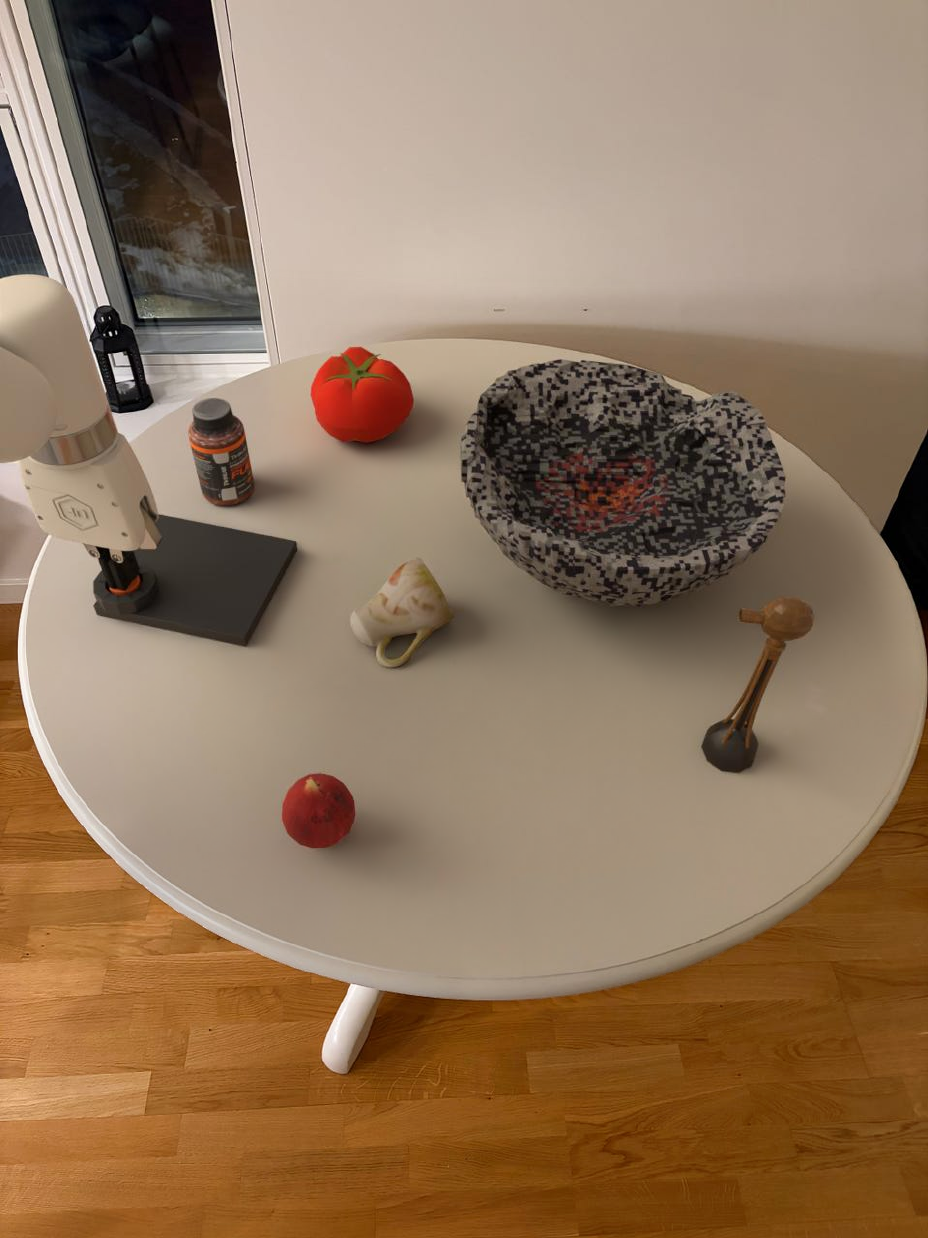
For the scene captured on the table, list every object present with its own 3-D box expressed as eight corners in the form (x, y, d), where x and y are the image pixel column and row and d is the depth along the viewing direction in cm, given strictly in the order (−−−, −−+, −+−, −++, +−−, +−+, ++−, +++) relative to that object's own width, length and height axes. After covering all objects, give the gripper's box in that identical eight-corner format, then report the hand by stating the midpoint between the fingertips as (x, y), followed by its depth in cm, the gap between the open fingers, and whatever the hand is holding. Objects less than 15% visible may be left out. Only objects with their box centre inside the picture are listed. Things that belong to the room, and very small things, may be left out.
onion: (367, 812, 76) (362, 761, 70) (343, 873, 73) (335, 825, 67) (303, 795, 77) (292, 743, 71) (276, 854, 73) (262, 805, 67)
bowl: (460, 668, 87) (464, 558, 75) (457, 461, 107) (459, 350, 96) (782, 669, 88) (833, 560, 76) (717, 464, 108) (750, 354, 97)
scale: (90, 617, 90) (81, 597, 88) (156, 522, 99) (150, 501, 97) (244, 650, 88) (239, 630, 85) (297, 550, 97) (294, 529, 95)
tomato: (410, 459, 107) (408, 399, 101) (306, 454, 108) (298, 394, 101) (418, 397, 116) (417, 338, 109) (321, 392, 116) (315, 333, 110)
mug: (333, 627, 90) (362, 538, 86) (417, 636, 95) (449, 552, 91) (356, 668, 84) (390, 574, 80) (445, 675, 89) (480, 587, 86)
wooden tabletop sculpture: (690, 767, 80) (749, 619, 65) (688, 724, 83) (744, 573, 68) (757, 775, 80) (832, 628, 65) (753, 732, 83) (824, 582, 68)
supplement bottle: (246, 511, 101) (228, 428, 92) (194, 504, 101) (173, 421, 93) (262, 477, 105) (247, 394, 96) (212, 471, 105) (193, 388, 97)
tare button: (106, 599, 89) (102, 588, 88) (121, 578, 91) (117, 567, 90) (134, 604, 89) (130, 594, 88) (148, 583, 91) (144, 573, 90)
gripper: (-39, 440, 74) (36, 592, 88) (128, 471, 72) (178, 622, 86) (12, 388, 79) (76, 540, 93) (170, 416, 77) (211, 567, 90)
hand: (124, 579), depth 89 cm, fingers closed
